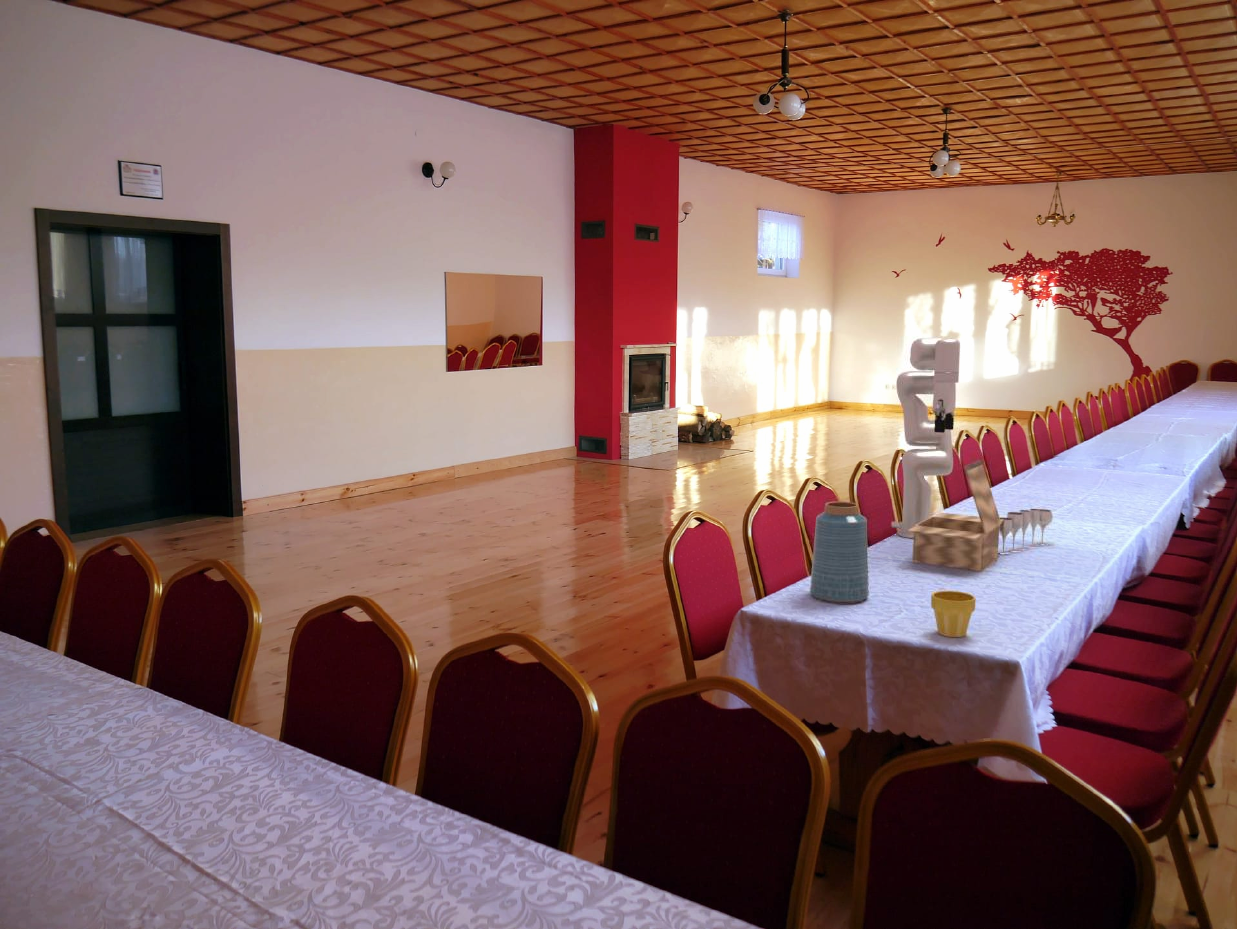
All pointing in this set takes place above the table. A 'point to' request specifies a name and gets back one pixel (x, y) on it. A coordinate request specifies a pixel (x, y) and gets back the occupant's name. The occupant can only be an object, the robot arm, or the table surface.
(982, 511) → the lid flap
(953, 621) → the plant pot
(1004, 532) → the goblet set
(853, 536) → the vase
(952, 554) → the carton
